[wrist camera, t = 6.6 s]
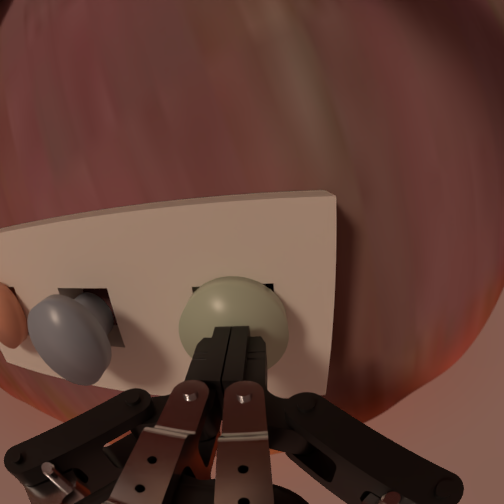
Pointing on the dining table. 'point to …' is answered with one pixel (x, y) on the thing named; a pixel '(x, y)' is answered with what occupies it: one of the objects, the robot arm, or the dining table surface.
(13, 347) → the terracotta button
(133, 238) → the button panel
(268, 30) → the dining table surface
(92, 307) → the slate button
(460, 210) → the dining table surface
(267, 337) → the sage button
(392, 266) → the dining table surface
